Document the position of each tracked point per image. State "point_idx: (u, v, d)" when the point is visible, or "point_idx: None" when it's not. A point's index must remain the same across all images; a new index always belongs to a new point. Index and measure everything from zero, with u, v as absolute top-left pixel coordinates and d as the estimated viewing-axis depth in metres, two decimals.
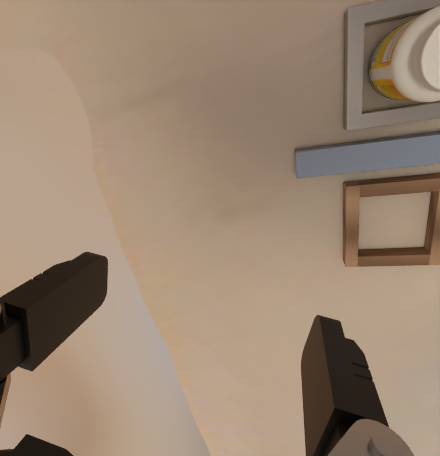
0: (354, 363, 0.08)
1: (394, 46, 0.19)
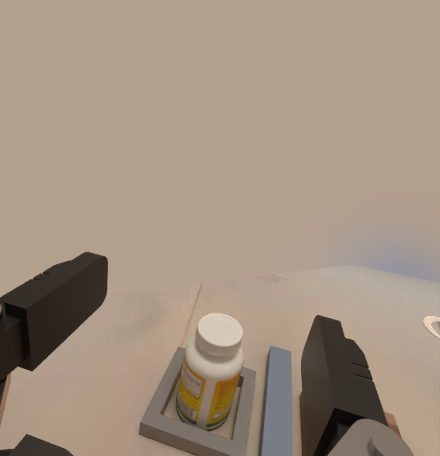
0: (354, 363, 0.08)
1: (194, 375, 0.24)
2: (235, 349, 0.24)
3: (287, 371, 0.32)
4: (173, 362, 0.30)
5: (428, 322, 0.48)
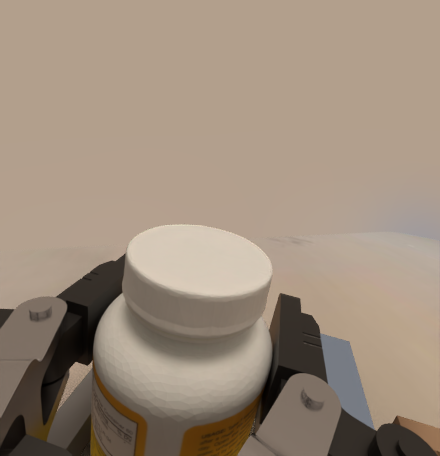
0: (308, 334, 0.09)
1: (112, 403, 0.07)
2: (251, 314, 0.07)
3: (352, 381, 0.15)
4: None
5: None
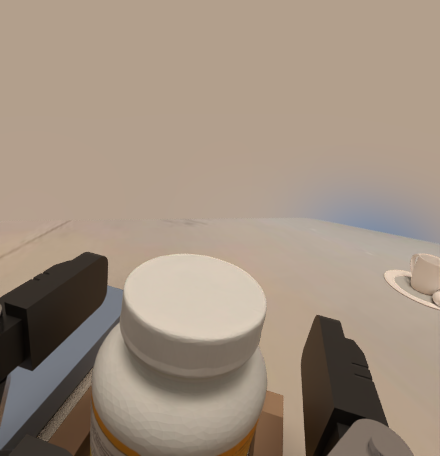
0: (354, 363, 0.08)
1: (109, 438, 0.07)
2: (245, 352, 0.07)
3: (107, 320, 0.17)
4: None
5: (391, 276, 0.34)
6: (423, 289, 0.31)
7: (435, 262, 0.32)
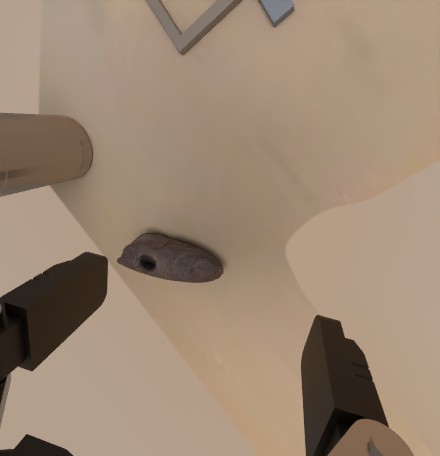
0: (354, 363, 0.08)
1: None
2: None
3: None
4: None
5: None
6: None
7: None
